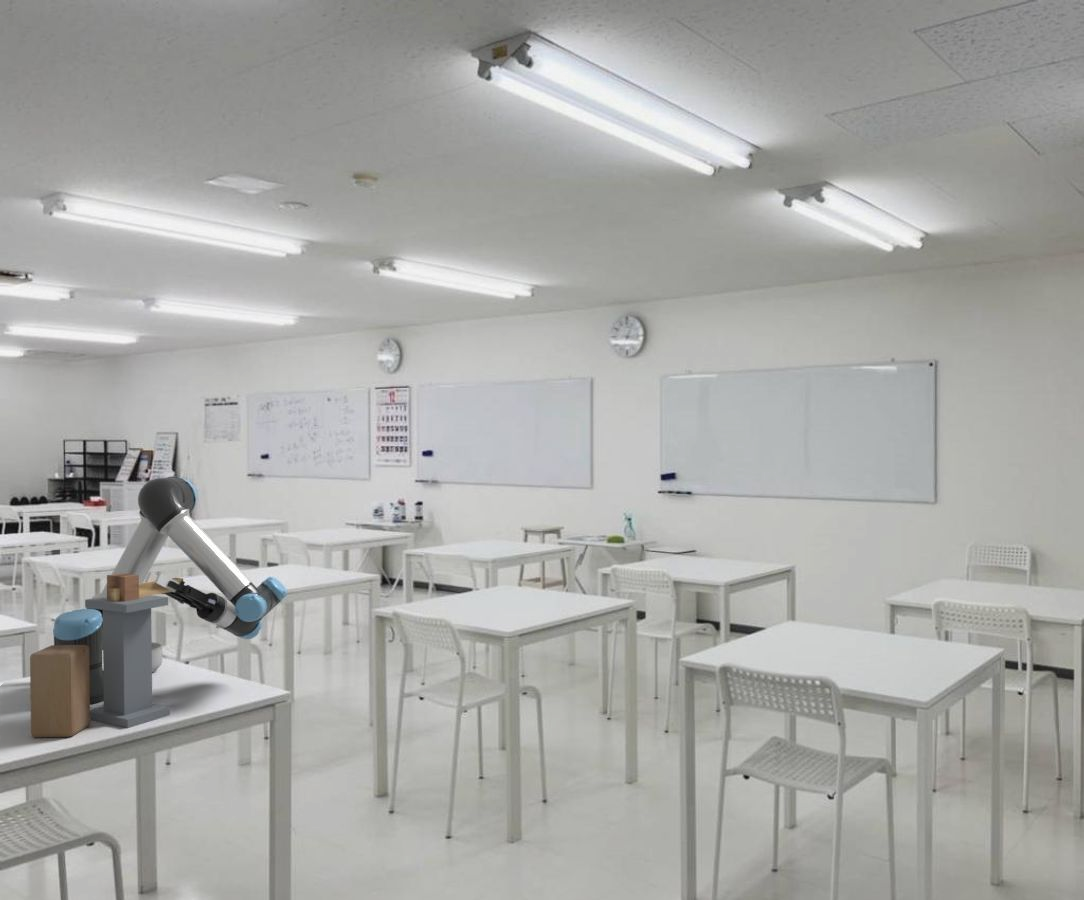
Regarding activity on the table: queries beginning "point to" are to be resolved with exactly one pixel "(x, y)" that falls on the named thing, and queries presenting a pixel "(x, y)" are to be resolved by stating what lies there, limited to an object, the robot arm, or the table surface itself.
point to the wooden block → (59, 690)
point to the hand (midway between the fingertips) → (153, 577)
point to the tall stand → (127, 661)
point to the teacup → (156, 655)
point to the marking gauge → (132, 587)
